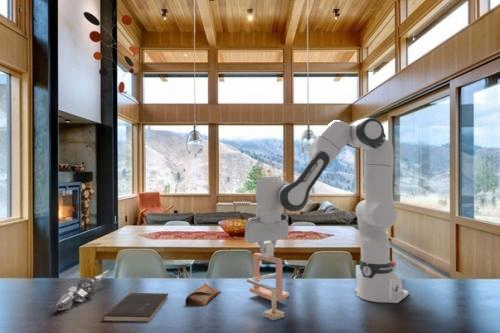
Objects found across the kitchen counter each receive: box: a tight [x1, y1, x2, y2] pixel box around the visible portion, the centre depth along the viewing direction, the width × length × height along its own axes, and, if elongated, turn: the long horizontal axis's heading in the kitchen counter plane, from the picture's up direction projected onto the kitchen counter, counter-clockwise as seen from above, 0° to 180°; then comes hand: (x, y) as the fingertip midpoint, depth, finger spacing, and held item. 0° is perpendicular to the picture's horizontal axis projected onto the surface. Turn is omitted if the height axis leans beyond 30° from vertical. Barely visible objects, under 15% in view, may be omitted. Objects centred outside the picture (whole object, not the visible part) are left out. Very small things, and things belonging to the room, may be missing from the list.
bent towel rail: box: [246, 272, 290, 321], centre depth 131 cm, size 21×19×10 cm
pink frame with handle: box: [249, 241, 287, 302], centre depth 137 cm, size 6×15×20 cm, turn 38°
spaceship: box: [55, 269, 111, 311], centre depth 139 cm, size 8×35×8 cm
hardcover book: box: [102, 292, 169, 322], centre depth 128 cm, size 16×23×2 cm
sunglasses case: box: [185, 282, 222, 307], centre depth 139 cm, size 18×7×7 cm
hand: (267, 251), depth 138 cm, fingers closed on pink frame with handle, 3 cm apart
